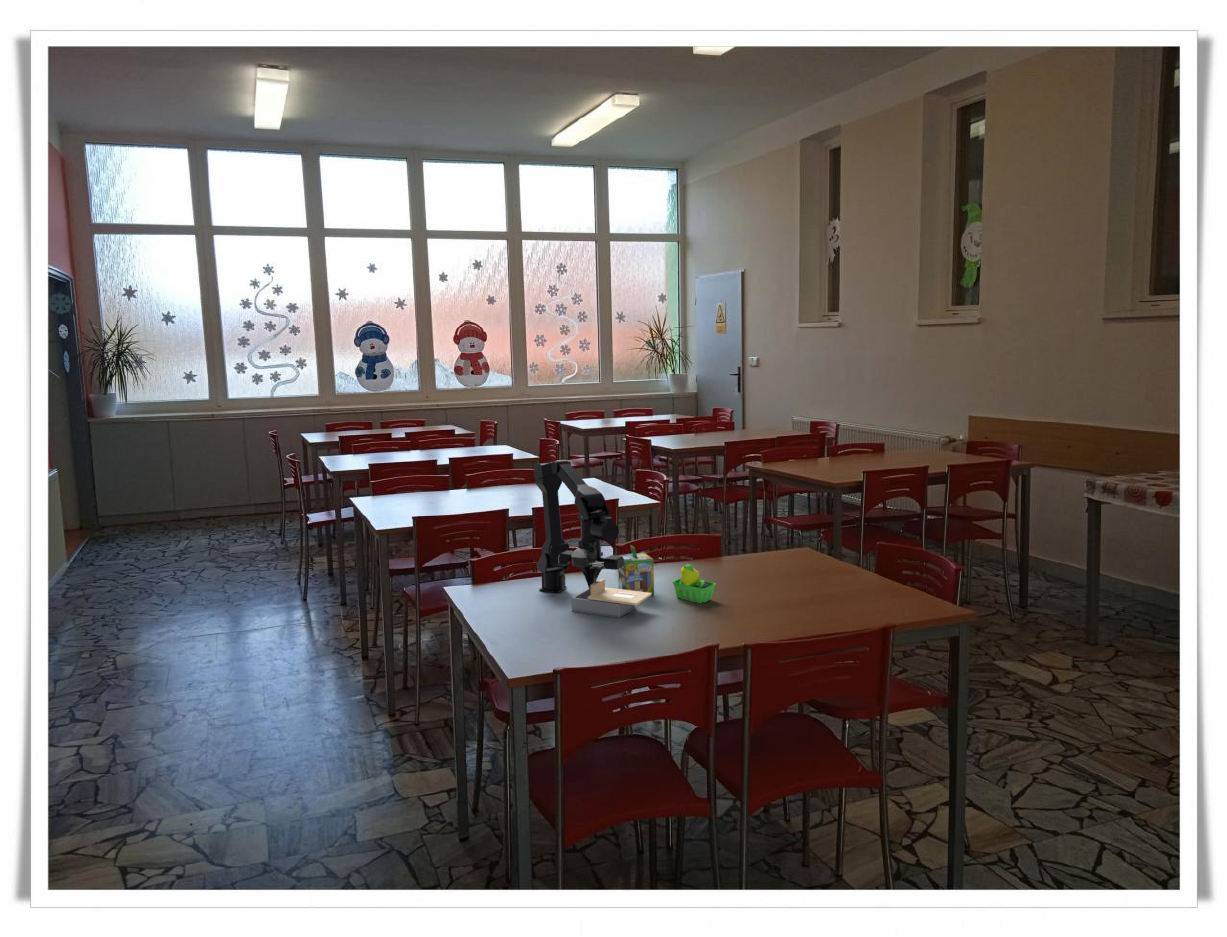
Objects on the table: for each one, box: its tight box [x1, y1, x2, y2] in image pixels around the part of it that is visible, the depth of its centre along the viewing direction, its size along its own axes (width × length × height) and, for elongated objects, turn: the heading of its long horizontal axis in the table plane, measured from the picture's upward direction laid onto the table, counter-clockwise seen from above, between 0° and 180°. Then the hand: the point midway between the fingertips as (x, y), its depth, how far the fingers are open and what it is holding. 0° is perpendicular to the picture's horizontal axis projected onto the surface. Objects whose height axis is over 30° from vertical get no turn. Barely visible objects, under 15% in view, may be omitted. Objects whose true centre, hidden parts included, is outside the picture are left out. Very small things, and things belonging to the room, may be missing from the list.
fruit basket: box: [672, 563, 717, 604], centre depth 253 cm, size 11×9×11 cm
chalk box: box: [617, 544, 655, 596], centre depth 259 cm, size 9×9×15 cm
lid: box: [588, 578, 653, 606], centre depth 241 cm, size 15×11×4 cm
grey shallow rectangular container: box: [571, 587, 636, 619], centre depth 243 cm, size 15×11×4 cm
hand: (591, 589), depth 244 cm, fingers closed
